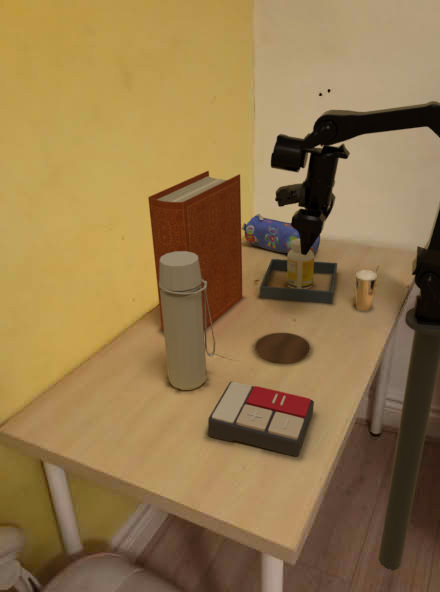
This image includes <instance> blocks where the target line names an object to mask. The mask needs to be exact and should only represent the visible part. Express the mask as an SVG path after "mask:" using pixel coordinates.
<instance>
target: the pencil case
mask: <svg viewBox="0 0 440 592" xmlns="http://www.w3.org/2000/svg"><path fill="white" fill-rule="evenodd" d="M242 230H243V232H244V238H245V241H246V242H247V243H248V244H249V245H251V246H254V247H259V248H262V249H265V250H268V251H273V252H277V253H282V254H288V252H289V251H290V250H292V248H291V242H292V241H293V240H295V239H300V236H299V232H298V231H297V230H296V229H294V228H293V227H292V226H291V222H287V221H282V220H277V219H273V218H272V219H271V218H267V217H263V215H261V213H258V214H256V215H254V216H253V217H251V219H250V220H248V222H247V223H245V222H244V223H243V225H242V226H241V231H242ZM320 244H321V234H320V235H319V236H318V238H317V239H316V241H315V242H314V244H313V245H312V247H311V249H310V250H311V251H312V252H313V253H314V255H316V254H317V252H318V250H319V247H320Z"/></svg>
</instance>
